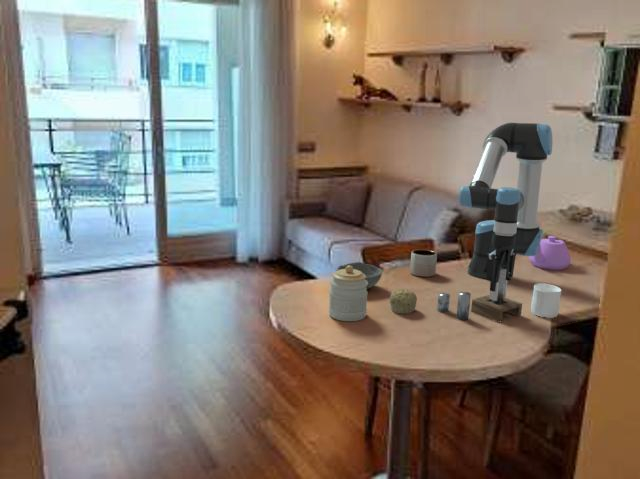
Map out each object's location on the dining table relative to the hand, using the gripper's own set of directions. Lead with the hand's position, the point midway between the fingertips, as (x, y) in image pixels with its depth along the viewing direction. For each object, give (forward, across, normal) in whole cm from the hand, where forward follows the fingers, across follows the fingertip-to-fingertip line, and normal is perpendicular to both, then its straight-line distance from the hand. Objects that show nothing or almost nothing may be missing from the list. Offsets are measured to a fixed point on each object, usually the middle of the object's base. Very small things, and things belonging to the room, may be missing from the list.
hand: (497, 298), depth 207 cm
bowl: (+6, +24, -47) cm, 53 cm away
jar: (+6, +46, -26) cm, 53 cm away
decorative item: (+6, +26, -20) cm, 33 cm away
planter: (+6, -12, -48) cm, 50 cm away
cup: (+6, -15, +9) cm, 18 cm away
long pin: (+3, 0, 0) cm, 3 cm away
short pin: (+6, +14, -12) cm, 19 cm away
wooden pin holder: (+6, 0, 0) cm, 6 cm away
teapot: (+6, -72, -28) cm, 77 cm away
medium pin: (+6, +14, -3) cm, 15 cm away
